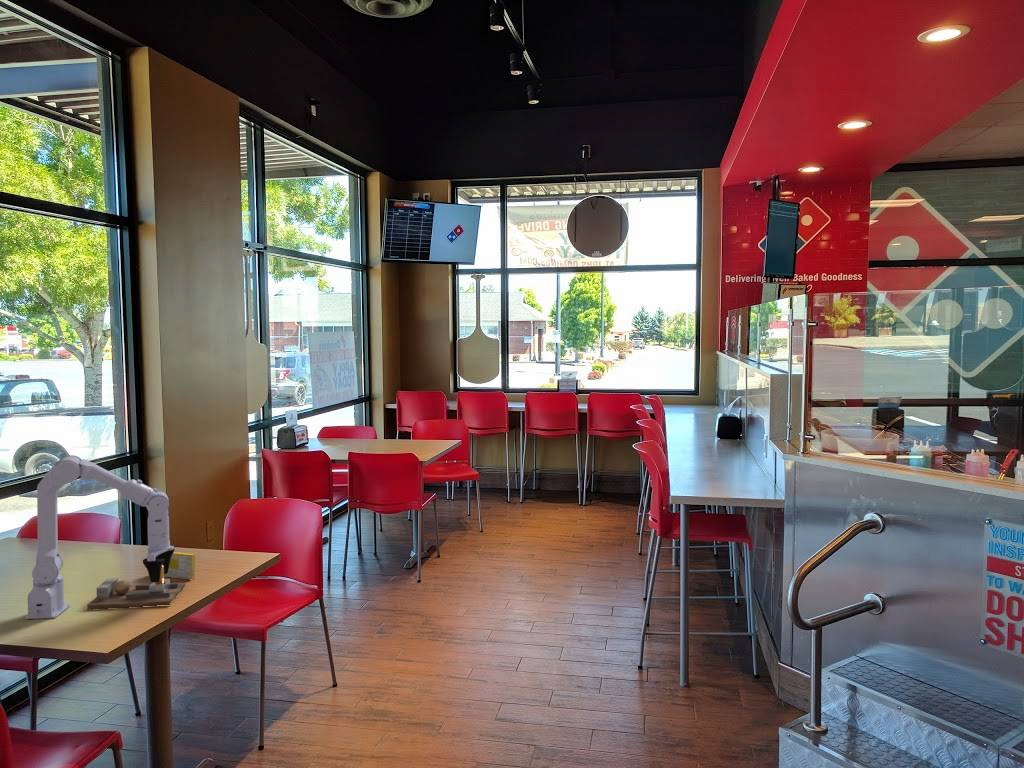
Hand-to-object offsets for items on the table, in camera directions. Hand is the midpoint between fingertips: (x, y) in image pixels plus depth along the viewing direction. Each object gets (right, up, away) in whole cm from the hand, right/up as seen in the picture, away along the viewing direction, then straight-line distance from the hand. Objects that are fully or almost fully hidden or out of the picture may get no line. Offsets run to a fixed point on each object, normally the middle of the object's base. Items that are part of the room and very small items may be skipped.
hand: (159, 577), depth 217 cm
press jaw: (0, -4, 0) cm, 4 cm away
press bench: (-6, -6, -1) cm, 8 cm away
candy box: (-5, -5, +19) cm, 20 cm away
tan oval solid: (-10, -3, -1) cm, 11 cm away
